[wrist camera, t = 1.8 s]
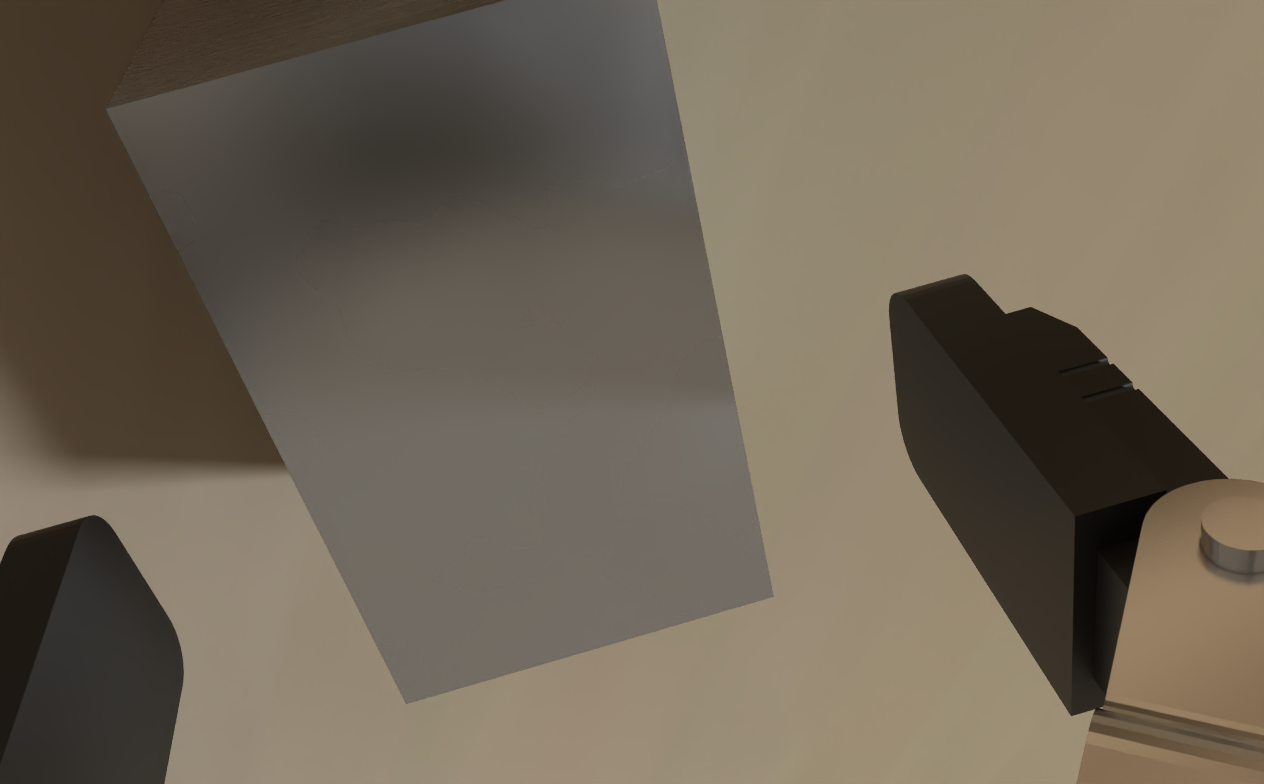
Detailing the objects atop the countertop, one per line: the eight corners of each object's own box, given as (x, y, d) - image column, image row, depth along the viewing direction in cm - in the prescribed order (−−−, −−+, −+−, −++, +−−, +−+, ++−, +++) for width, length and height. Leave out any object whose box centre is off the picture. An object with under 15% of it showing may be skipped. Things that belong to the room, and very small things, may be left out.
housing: (182, -38, 14) (105, 108, 10) (568, -142, 14) (648, -39, 10) (397, 463, 19) (406, 704, 14) (685, 381, 19) (773, 597, 15)
